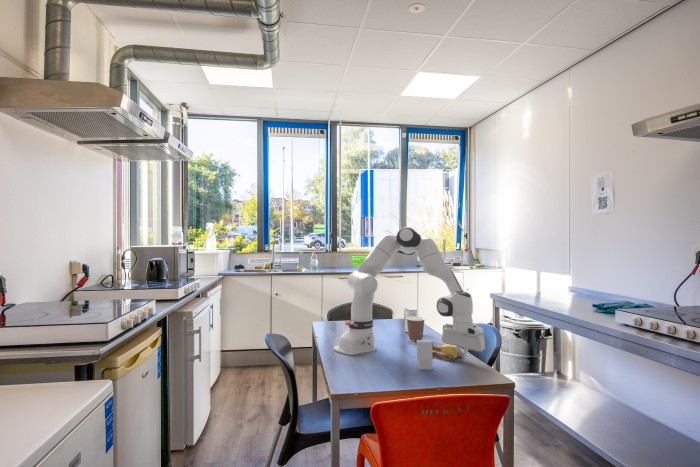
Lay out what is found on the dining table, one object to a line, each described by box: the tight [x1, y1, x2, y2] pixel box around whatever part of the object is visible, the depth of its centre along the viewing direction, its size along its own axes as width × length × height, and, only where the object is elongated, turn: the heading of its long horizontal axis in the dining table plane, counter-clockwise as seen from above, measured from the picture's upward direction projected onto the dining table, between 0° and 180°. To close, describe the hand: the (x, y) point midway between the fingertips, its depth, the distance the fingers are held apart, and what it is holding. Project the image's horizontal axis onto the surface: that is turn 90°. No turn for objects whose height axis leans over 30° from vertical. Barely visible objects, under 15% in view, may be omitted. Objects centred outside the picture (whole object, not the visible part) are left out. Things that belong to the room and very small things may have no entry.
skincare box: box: [416, 339, 433, 371], centre depth 160 cm, size 6×4×12 cm
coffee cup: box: [407, 315, 426, 342], centre depth 206 cm, size 10×10×12 cm
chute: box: [432, 342, 462, 363], centre depth 179 cm, size 17×11×3 cm, turn 46°
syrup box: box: [403, 307, 418, 334], centre depth 223 cm, size 6×6×14 cm
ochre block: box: [441, 343, 458, 360], centre depth 175 cm, size 6×5×5 cm
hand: (462, 356), depth 170 cm, fingers closed
